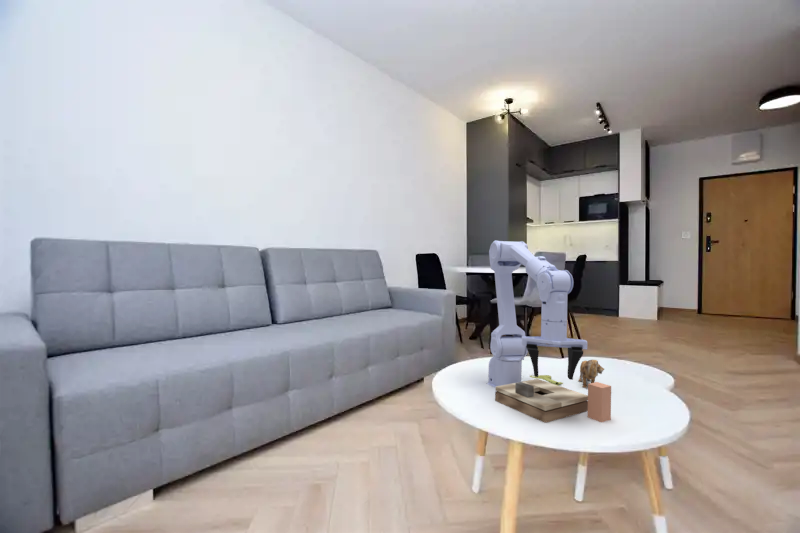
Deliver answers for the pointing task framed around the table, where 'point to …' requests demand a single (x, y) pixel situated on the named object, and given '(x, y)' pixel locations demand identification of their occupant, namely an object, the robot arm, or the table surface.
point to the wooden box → (539, 413)
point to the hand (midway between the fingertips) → (552, 377)
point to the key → (547, 379)
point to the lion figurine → (589, 371)
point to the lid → (551, 400)
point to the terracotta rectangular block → (599, 401)
